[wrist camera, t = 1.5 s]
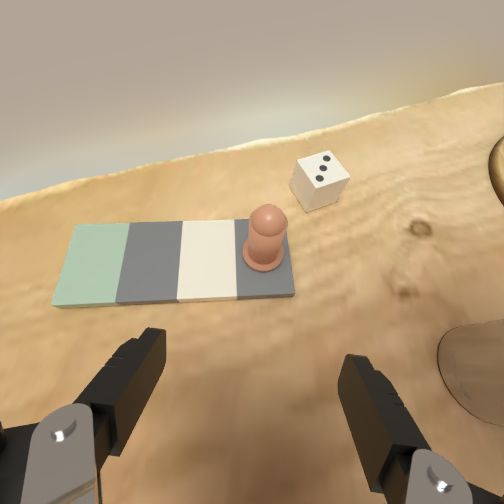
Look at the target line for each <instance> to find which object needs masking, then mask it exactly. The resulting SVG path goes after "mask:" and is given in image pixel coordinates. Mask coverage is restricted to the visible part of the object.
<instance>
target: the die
mask: <svg viewBox="0 0 504 504" xmlns="http://www.w3.org/2000/svg"><path fill="white" fill-rule="evenodd" d="M349 179H350V176H349V174H348V173H347V172H346V170H345V169H344V168H343V167H342V165H341V164H340V163H339V162H338V160H337V159H336V158H335V156H334V155H333V154H332V153H331V151H330V150H328V151H325V152H322V153H319V154H315V155H312V156H309V157H305V158H302V159H299V160H296V164H295V168H294V172H293V175H292V179H291V183H290V188H291V190H292V191H293V193H294V194H295V196H296V198H297V199H298V201H299V202H300V204H301V206H302V207H303V209H304V210H305V212H309V211H312V210H315V209H318V208H320V207H323V206H326V205H329V204H332V203H334V202H336V201H337V200H338V198H339V196H340V194H341V193H342V191H343V189H344V187H345V186H346V184H347V182H348V180H349Z"/></svg>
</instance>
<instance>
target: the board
mask: <svg viewBox="0 0 504 504" xmlns="http://www.w3.org/2000/svg"><path fill="white" fill-rule="evenodd" d="M248 234H249V219H239V220H206V221H172V222H139V223H106V224H76V225H75V229H74V232H73V235H72V238H71V242H70V245H69V248H68V251H67V255H66V258H65V261H64V264H63V268H62V271H61V274H60V277H59V281H58V284H57V287H56V290H55V294H54V297H53V300H52V303H51V306H54V307H58V308H81V307H100V306H120V305H140V304H160V303H180V302H200V301H220V300H240V299H259V298H279V297H293V296H294V294H295V289H294V282H293V275H292V268H291V261H290V254H289V247H288V240H287V233H286V232H285V235H284V238H283V242H282V245H283V248H284V255H283V258H282V261H281V263H280V265H279V266H278V267H277V268H276V269H275V270H273V271H270V272H266V273H260V272H256V271H254V270H252V269H250V268H249V267H248V266H247V265H246V263H245V262H244V259H243V245H244V243H245V241H246V240H247V238H248Z"/></svg>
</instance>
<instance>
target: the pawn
mask: <svg viewBox="0 0 504 504" xmlns="http://www.w3.org/2000/svg"><path fill="white" fill-rule="evenodd" d="M287 226H288V221H287V218H286V216H285V214H284V213H283V212H282V210H281V209H280V208H278V207H277V206H275V205H270V204H267V205H263V206H260V207H259V208H258V209H256V210H255V211H253V212H252V214H251V216H250V218H249V234H248V238H247V240H246V241H245V243H244V245H243V259H244V262H245V263H246V265H247V266H248V267H249V268H250V269H252V270H254V271H256V272H260V273H266V272H270V271H273V270H275V269H276V268H277V267H278V266H279V265H280V263H281V261H282V258H283V255H284V248H283V245H282V242H283V238H284V235H285V232H286V229H287Z"/></svg>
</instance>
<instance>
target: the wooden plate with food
mask: <svg viewBox="0 0 504 504" xmlns="http://www.w3.org/2000/svg"><path fill="white" fill-rule="evenodd" d="M489 172H490V178H491V181H492V185H493V187H494V189H495V192H496V194H497V196H498V197H499V199H500V201H501V202H502V204H503V205H504V137H503V138H501V139H500V140H499V141H498V143H497V144H496V145H495V147H494V148H493V150H492V152H491V155H490V159H489Z"/></svg>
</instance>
